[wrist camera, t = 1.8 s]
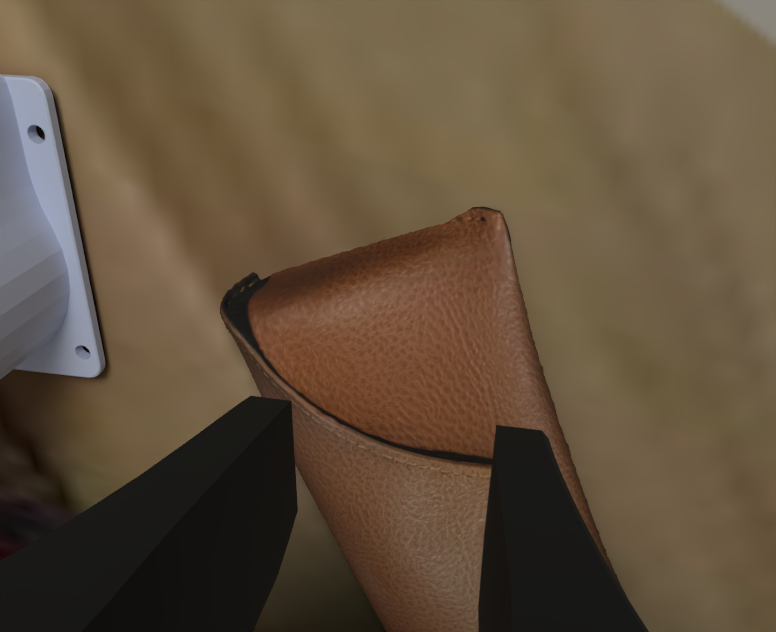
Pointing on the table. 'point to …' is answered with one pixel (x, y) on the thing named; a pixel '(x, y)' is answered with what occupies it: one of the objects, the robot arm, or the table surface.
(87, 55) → the table surface
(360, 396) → the sunglasses case
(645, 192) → the table surface
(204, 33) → the table surface
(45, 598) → the robot arm
